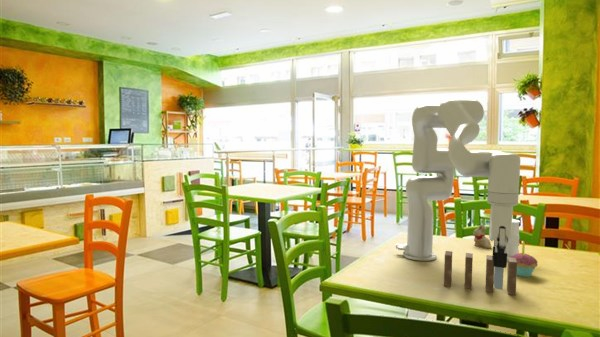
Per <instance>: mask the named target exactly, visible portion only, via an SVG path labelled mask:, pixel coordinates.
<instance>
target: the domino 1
mask: <svg viewBox="0 0 600 337" xmlns="http://www.w3.org/2000/svg"><path fill="white" fill-rule="evenodd" d="M443 267H444V268H443V270H444V271H443V272H444V273H443V276H444V277H443V286H444V287H447V288H448V287H449V288H452V287H451V285H452V282H453V280H452V275H453V274H452V273H453V269H452V268H453V251H451V250H445V252H444V266H443Z"/></svg>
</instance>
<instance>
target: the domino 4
mask: <svg viewBox="0 0 600 337" xmlns="http://www.w3.org/2000/svg"><path fill="white" fill-rule="evenodd" d="M497 249H498V248H497ZM504 270H505V268H501V267H494V285H493V290H494V289H495V290H501V291H502V290H503V288H504V287H503V286H504Z"/></svg>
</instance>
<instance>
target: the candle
mask: <svg viewBox="0 0 600 337" xmlns="http://www.w3.org/2000/svg"><path fill="white" fill-rule="evenodd" d="M520 223H521V221H520V220H519V219H515V218H512V229H511V238H510V242H508V243H507V262H508V257H511V256H513V255H514V254H519V246H520Z"/></svg>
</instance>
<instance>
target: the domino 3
mask: <svg viewBox="0 0 600 337" xmlns="http://www.w3.org/2000/svg"><path fill="white" fill-rule="evenodd" d="M492 256H493V255H492V254H491V255H489V254H486V264H485V265H486V266H485V292H486V293H492V294H493V293H494V266H493V259H492Z"/></svg>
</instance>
